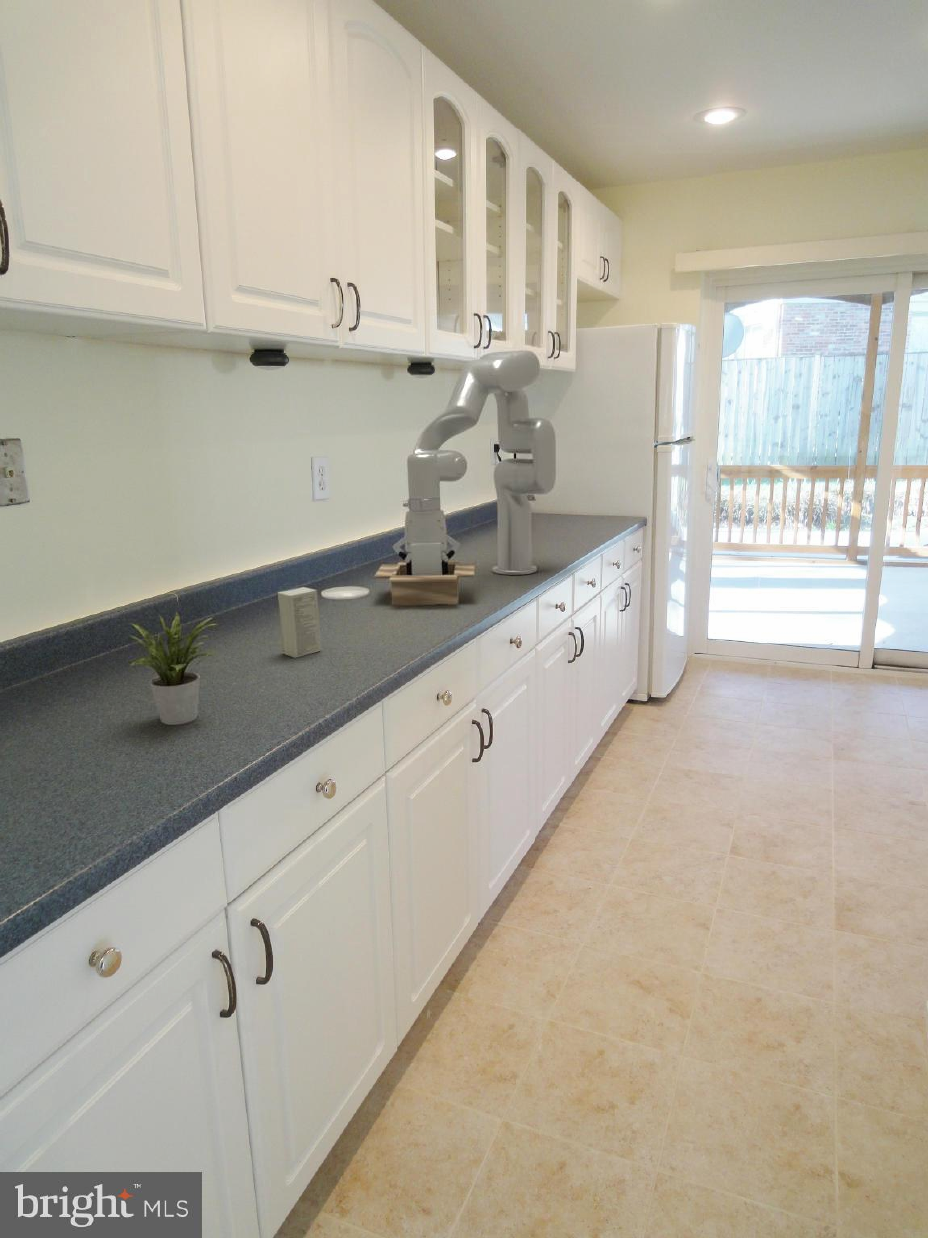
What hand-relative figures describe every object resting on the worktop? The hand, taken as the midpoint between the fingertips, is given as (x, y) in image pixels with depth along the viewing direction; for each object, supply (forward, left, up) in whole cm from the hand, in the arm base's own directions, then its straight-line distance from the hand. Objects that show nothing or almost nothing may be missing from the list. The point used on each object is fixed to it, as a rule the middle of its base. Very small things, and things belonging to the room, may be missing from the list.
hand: (427, 576), depth 199 cm
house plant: (+82, -31, -5) cm, 88 cm away
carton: (0, 0, -5) cm, 5 cm away
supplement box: (0, 0, -4) cm, 4 cm away
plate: (-5, -21, -5) cm, 22 cm away
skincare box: (+47, -21, -5) cm, 52 cm away
